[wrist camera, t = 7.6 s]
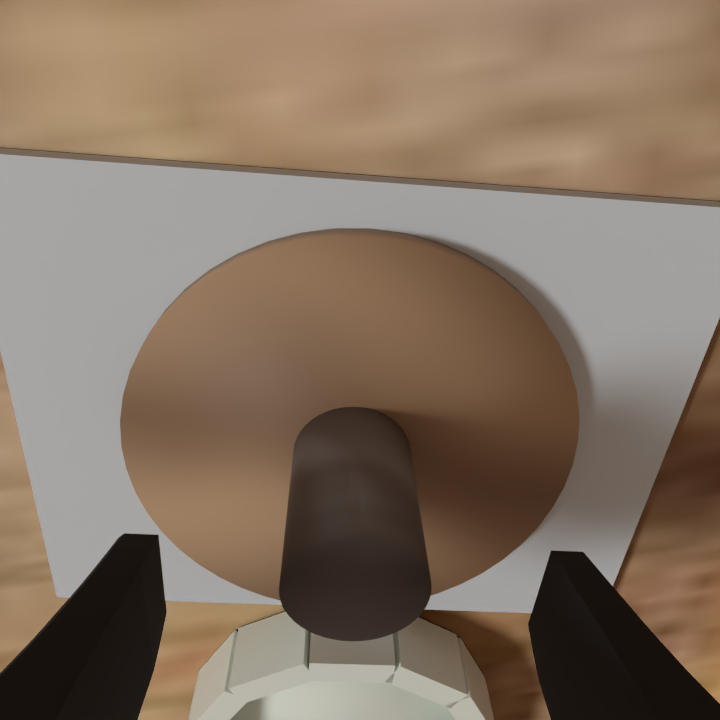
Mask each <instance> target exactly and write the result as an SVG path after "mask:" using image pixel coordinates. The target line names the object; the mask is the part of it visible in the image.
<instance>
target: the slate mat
mask: <svg viewBox="0 0 720 720" xmlns="http://www.w3.org/2000/svg"><path fill="white" fill-rule="evenodd" d="M334 228H371V229H378V230H386V231H394V232H401V233H406V234H410V235H414V236H418V237H421V238H425V239H429V240H433V241H436V242H439V243H441V244H444V245H446V246H448V247H451V248H453V249H456V250H458V251H460V252H463V253H465V254H467V255H469V256H471V257H472V258H474V259H476V260H477V261H479V262H481V263H483V264H484V265H486V266H488V267H489V268H491V269H493V270H494V271H495V272H497V273H498V274H499V275H500V276H502V277H503V278H504V279H506V280H507V281H508V282H509V283H511V284H512V285H513V286H514V287H516V288H517V289H518V290H519V291H520V293H521V294H522V295H523V296H524V297H525V298H526V299H527V300H528V301H529V302H530V303H531V304H532V305H533V306H534V308H535V309H536V310H537V311H538V313H539V314H540V316H541V317H542V319H543V320H544V322H545V323H546V325H547V326H548V328H549V329H550V331H551V332H552V334H553V335H554V337H555V338H556V340H557V341H558V343H559V345H560V347H561V349H562V351H563V353H564V356H565V358H566V360H567V362H568V364H569V366H570V369H571V373H572V376H573V380H574V384H575V387H576V391H577V398H578V407H579V417H580V418H579V434H578V444H577V449H576V453H575V458H574V462H573V466H572V469H571V471H570V474H569V476H568V479H567V481H566V484H565V487H564V489H563V490H562V492H561V494H560V496H559V497H558V499H557V501H556V503H555V505H554V506H553V508H552V509H551V511H550V512H549V513H548V515H547V516H546V517H545V519H544V520H543V521H542V523H541V524H540V525H539V527H538V528H537V529H536V530H535V531H534V532H533V533H532V534H531V535H530V536H529V537H528V538H527V539H526V540H525V541H524V542H523V543H522V544H521V545H520V546H519V547H518V548H517V549H515V550H514V551H513V552H512V553H510V554H509V555H508V556H507V557H506V558H504V559H503V560H502V561H500V562H499V563H497V564H496V565H494V566H493V567H491V568H489V569H488V570H486V571H485V572H483V573H482V574H480V575H478V576H476V577H474V578H472V579H470V580H468V581H466V582H464V583H462V584H460V585H458V586H455V587H453V588H450V589H448V590H445V591H443V592H440V593H438V594H434V595H431V596H430V599H429V602H428V604H427V606H426V608H425V609H424V610H454V611H484V612H514V613H532V610H533V607H534V604H535V601H536V598H537V594H538V591H539V588H540V585H541V582H542V578H543V575H544V572H545V569H546V566H547V562H548V559H549V556H550V553H551V550H552V551H577V552H584V553H585V554H586V556H587V557H588V558H589V559H590V560H591V561H592V563H593V564H594V565H595V566H596V567H597V568H598V570H599V571H600V572H601V573H602V574H603V576H604V577H605V578H606V579H607V580H608V581H609V583H610V584H611V585H612V586H613V585H614V582H615V580H616V577H617V575H618V572H619V569H620V567H621V564H622V562H623V559H624V557H625V554H626V552H627V549H628V547H629V544H630V542H631V539H632V537H633V534H634V532H635V529H636V527H637V524H638V522H639V519H640V517H641V514H642V512H643V509H644V507H645V504H646V502H647V499H648V497H649V494H650V492H651V489H652V487H653V484H654V482H655V479H656V476H657V474H658V471H659V469H660V466H661V464H662V461H663V459H664V456H665V454H666V451H667V449H668V446H669V444H670V441H671V439H672V436H673V434H674V431H675V429H676V426H677V424H678V421H679V419H680V416H681V414H682V411H683V409H684V406H685V404H686V401H687V399H688V396H689V394H690V391H691V389H692V386H693V384H694V381H695V378H696V376H697V373H698V371H699V368H700V366H701V363H702V361H703V358H704V356H705V353H706V351H707V348H708V346H709V343H710V341H711V338H712V336H713V333H714V331H715V328H716V326H717V323H718V321H719V318H720V202H719V201H706V200H692V199H679V198H666V197H652V196H639V195H625V194H612V193H599V192H585V191H572V190H558V189H545V188H531V187H518V186H505V185H491V184H478V183H464V182H451V181H438V180H424V179H411V178H397V177H384V176H371V175H357V174H344V173H330V172H317V171H304V170H290V169H277V168H263V167H250V166H237V165H223V164H210V163H196V162H183V161H169V160H156V159H143V158H129V157H116V156H102V155H89V154H76V153H62V152H49V151H35V150H22V149H9V148H0V351H1V355H2V360H3V364H4V369H5V373H6V377H7V382H8V386H9V390H10V395H11V399H12V403H13V408H14V412H15V416H16V421H17V425H18V430H19V434H20V438H21V443H22V447H23V451H24V456H25V460H26V464H27V469H28V473H29V477H30V482H31V486H32V491H33V495H34V499H35V504H36V508H37V512H38V517H39V521H40V525H41V530H42V534H43V539H44V543H45V547H46V552H47V556H48V560H49V565H50V569H51V573H52V578H53V582H54V586H55V591H56V595H57V597H66V598H70V597H71V596H72V594H73V593H74V592H75V591H76V590H77V589H78V587H79V586H80V585H81V584H82V583H83V581H84V580H85V579H86V578H87V577H88V575H89V574H90V573H91V572H92V570H93V569H94V568H95V567H96V565H97V564H98V563H99V562H100V560H101V559H102V558H103V557H104V555H105V554H106V553H107V552H108V550H109V549H110V548H111V546H112V545H113V544H114V543H115V541H116V540H117V539H118V538H119V537H120V536H121V535H123V534H124V533H128V534H152V535H158V536H159V545H160V555H161V565H162V574H163V584H164V594H165V601H185V602H215V603H245V604H275V605H282V604H281V600H277V599H273V598H269V597H265V596H262V595H260V594H257V593H254V592H251V591H249V590H246V589H243V588H241V587H239V586H237V585H234V584H232V583H230V582H228V581H226V580H224V579H222V578H220V577H218V576H217V575H215V574H213V573H212V572H210V571H208V570H207V569H205V568H204V567H202V566H200V565H199V564H197V563H196V562H195V561H194V560H192V559H191V558H190V557H188V556H187V555H186V554H185V553H183V552H182V551H181V550H180V549H178V548H177V547H176V546H175V545H174V544H173V543H172V542H171V541H170V540H169V539H168V538H167V537H166V536H165V535H164V534H163V533H162V531H161V530H160V529H159V528H158V526H157V525H156V524H155V522H154V521H153V520H152V518H151V517H150V516H149V515H148V513H147V512H146V510H145V508H144V506H143V505H142V503H141V501H140V499H139V498H138V496H137V494H136V492H135V490H134V487H133V485H132V482H131V480H130V477H129V475H128V472H127V469H126V465H125V460H124V456H123V451H122V447H121V432H120V416H121V407H122V398H123V393H124V390H125V386H126V383H127V379H128V376H129V372H130V369H131V367H132V365H133V363H134V361H135V359H136V357H137V355H138V353H139V351H140V349H141V346H142V345H143V343H144V341H145V339H146V338H147V336H148V334H149V333H150V331H151V330H152V328H153V327H154V325H155V324H156V322H157V321H158V320H159V318H160V317H161V315H162V314H163V312H164V311H165V310H166V308H167V307H168V306H169V305H170V304H171V303H172V302H173V301H174V300H175V299H176V298H177V297H178V296H179V295H180V294H181V293H182V292H183V291H184V290H185V289H186V288H187V287H188V286H189V285H191V284H192V283H193V282H194V281H196V280H197V279H198V278H200V277H201V276H202V275H203V274H205V273H206V272H207V271H209V270H210V269H212V268H213V267H215V266H217V265H219V264H220V263H222V262H224V261H225V260H227V259H229V258H231V257H232V256H234V255H236V254H238V253H240V252H243V251H245V250H248V249H250V248H253V247H255V246H257V245H260V244H262V243H265V242H267V241H271V240H274V239H278V238H282V237H286V236H290V235H294V234H298V233H302V232H310V231H318V230H326V229H334Z"/></svg>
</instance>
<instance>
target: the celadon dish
mask: <svg viewBox="0 0 720 720" xmlns="http://www.w3.org/2000/svg"><path fill="white" fill-rule="evenodd" d="M188 720H494V717H493V713H492V708H491V703H490V698H489V694H488V689H487V684H486V679H485V677H484V676H483V674H482V672H481V671H480V669H479V668H478V666H477V664H476V663H475V661H474V659H473V658H472V656H471V655H470V653H469V651H468V650H467V648H466V646H465V645H464V643H463V642H462V640H461V638H460V637H459V638H457V635H456V634H454V633H452V632H450V631H448V630H445V629H443V628H441V627H439V626H437V625H434V624H432V623H430V622H428V621H426V620H423V619H421V618H419V617H418V618H417V619H416V620H415V621H413V622H412V623H411V624H410V625H408V626H407V627H405V628H403V629H402V630H400V631H398V632H396V633H393V634H391V635H388V636H385V637H381V638H378V639H373V640H366V641H340V640H334V639H329V638H325V637H322V636H319V635H316V634H314V633H311V632H309V631H307V630H306V629H304V628H302V627H301V626H299V625H298V624H297V623H296V622H294V621H293V620H292V619H291V618H290V617H289V616H288V614H287V613H286V611H285V612H283V613H280V614H277V615H274V616H271V617H268V618H265V619H263V620H260V621H257V622H254V623H251V624H248V625H245V626H242V627H240V628H239V629H238V631H236V630H235V631H234V632H233V633H232V634H231V635H230V636H229V637H228V639H227V640H226V641H225V642H224V643H223V644H222V645H221V647H220V648H219V649H218V650H217V651H216V652H215V653H214V654H213V656H212V657H211V658H210V659H209V660H208V661H207V662H206V664H205V665H204V666H203V667H202V668H201V669H200V670H199V674H198V676H197V681H196V685H195V690H194V695H193V699H192V704H191V709H190V713H189V718H188Z"/></svg>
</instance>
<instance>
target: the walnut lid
mask: <svg viewBox="0 0 720 720" xmlns="http://www.w3.org/2000/svg"><path fill="white" fill-rule="evenodd" d="M579 418H580V417H579V407H578V398H577V391H576V387H575V384H574V380H573V376H572V373H571V369H570V366H569V364H568V362H567V360H566V358H565V356H564V353H563V351H562V349H561V347H560V345H559V343H558V341H557V340H556V338H555V337H554V335H553V334H552V332H551V331H550V329H549V328H548V326H547V325H546V323H545V322H544V320H543V319H542V317H541V316H540V314H539V313H538V311H537V310H536V309H535V308H534V306H533V305H532V304H531V303H530V302H529V301H528V300H527V299H526V298H525V297H524V296H523V295H522V294H521V293H520V291H519V290H518V289H517V288H516V287H514V286H513V285H512V284H511V283H509V282H508V281H507V280H506V279H504V278H503V277H502V276H500V275H499V274H498V273H497V272H495V271H494V270H493V269H491V268H489V267H488V266H486V265H484V264H483V263H481V262H479V261H477V260H476V259H474V258H472V257H471V256H469V255H467V254H465V253H463V252H460V251H458V250H456V249H453V248H451V247H448V246H446V245H444V244H441V243H439V242H436V241H433V240H429V239H425V238H421V237H418V236H414V235H410V234H406V233H401V232H394V231H386V230H378V229H371V228H334V229H326V230H318V231H310V232H302V233H298V234H294V235H290V236H286V237H282V238H278V239H274V240H271V241H267V242H265V243H262V244H260V245H257V246H255V247H253V248H250V249H248V250H245V251H243V252H240V253H238V254H236V255H234V256H232V257H231V258H229V259H227V260H225V261H224V262H222V263H220V264H219V265H217V266H215V267H213V268H212V269H210V270H209V271H207V272H206V273H205V274H203V275H202V276H201V277H200V278H198V279H197V280H196V281H194V282H193V283H192V284H191V285H189V286H188V287H187V288H186V289H185V290H184V291H183V292H182V293H181V294H180V295H179V296H178V297H177V298H176V299H175V300H174V301H173V302H172V303H171V304H170V305H169V306H168V307H167V308H166V310H165V311H164V312H163V314H162V315H161V317H160V318H159V320H158V321H157V322H156V324H155V325H154V327H153V328H152V330H151V331H150V333H149V334H148V336H147V338H146V339H145V341H144V343H143V345H142V346H141V349H140V351H139V353H138V355H137V357H136V359H135V361H134V363H133V365H132V367H131V369H130V372H129V376H128V379H127V383H126V386H125V390H124V393H123V398H122V407H121V416H120V432H121V447H122V451H123V456H124V460H125V465H126V469H127V472H128V475H129V477H130V480H131V482H132V485H133V487H134V490H135V492H136V494H137V496H138V498H139V499H140V501H141V503H142V505H143V506H144V508H145V510H146V512H147V513H148V515H149V516H150V517H151V518H152V520H153V521H154V522H155V524H156V525H157V526H158V528H159V529H160V530H161V531H162V533H163V534H164V535H165V536H166V537H167V538H168V539H169V540H170V541H171V542H172V543H173V544H174V545H175V546H176V547H177V548H178V549H180V550H181V551H182V552H183V553H185V554H186V555H187V556H188V557H190V558H191V559H192V560H194V561H195V562H196V563H197V564H199V565H200V566H202V567H204V568H205V569H207V570H208V571H210V572H212V573H213V574H215V575H217V576H218V577H220V578H222V579H224V580H226V581H228V582H230V583H232V584H234V585H237V586H239V587H241V588H243V589H246V590H249V591H251V592H254V593H257V594H260V595H262V596H265V597H269V598H273V599H277V600H281V604H282V606H283V608H284V610H285V611H286V613H287V614H288V616H289V617H290V618H291V619H292V620H293V621H294V622H296V623H297V624H298V625H299V626H301V627H302V628H304V629H306V630H307V631H309V632H311V633H314V634H316V635H319V636H322V637H325V638H329V639H334V640H340V641H366V640H373V639H378V638H381V637H385V636H388V635H391V634H393V633H396V632H398V631H400V630H402V629H403V628H405V627H407V626H408V625H410V624H411V623H412V622H413V621H415V620H416V619H417V618H418V617H419V616H420V615H421V614H422V612H423V611H424V609H425V608H426V606H427V604H428V602H429V599H430V596H431V595H434V594H438V593H440V592H443V591H445V590H448V589H450V588H453V587H455V586H458V585H460V584H462V583H464V582H466V581H468V580H470V579H472V578H474V577H476V576H478V575H480V574H482V573H483V572H485V571H486V570H488V569H489V568H491V567H493V566H494V565H496V564H497V563H499V562H500V561H502V560H503V559H504V558H506V557H507V556H508V555H509V554H510V553H512V552H513V551H514V550H515V549H517V548H518V547H519V546H520V545H521V544H522V543H523V542H524V541H525V540H526V539H527V538H528V537H529V536H530V535H531V534H532V533H533V532H534V531H535V530H536V529H537V528H538V527H539V525H540V524H541V523H542V521H543V520H544V519H545V517H546V516H547V515H548V513H549V512H550V511H551V509H552V508H553V506H554V505H555V503H556V501H557V499H558V497H559V496H560V494H561V492H562V490H563V489H564V487H565V484H566V481H567V479H568V476H569V474H570V471H571V469H572V466H573V462H574V458H575V453H576V449H577V444H578V434H579Z"/></svg>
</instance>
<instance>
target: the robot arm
mask: <svg viewBox="0 0 720 720" xmlns="http://www.w3.org/2000/svg"><path fill="white" fill-rule="evenodd" d="M165 617H166V603H165V594H164V584H163V574H162V565H161V555H160V545H159V536H158V535H152V534H128V533H124V534H123V535H121V536H120V537H119V538H118V539H117V540H116V541H115V543H114V544H113V545H112V546H111V548H110V549H109V550H108V552H107V553H106V554H105V555H104V557H103V558H102V559H101V560H100V562H99V563H98V564H97V565H96V567H95V568H94V569H93V570H92V572H91V573H90V574H89V575H88V577H87V578H86V579H85V580H84V581H83V583H82V584H81V585H80V586H79V587H78V589H77V590H76V591H75V592H74V593H73V594H72V596H71V597H70V598H69V599H68V600H67V601H66V603H65V604H64V605H63V606H62V607H61V608H60V609H59V611H58V612H57V613H56V614H55V615H54V616H53V617H52V618H51V620H50V621H49V622H48V623H47V624H46V625H45V626H44V628H43V629H42V630H41V631H40V632H39V633H38V634H37V635H36V636H35V638H34V639H33V640H32V641H31V642H30V643H29V644H28V645H27V646H26V647H25V648H24V649H23V650H22V651H21V652H20V653H19V654H18V655H17V656H16V658H15V659H14V660H13V661H12V662H11V663H10V664H9V665H8V666H7V667H6V668H5V669H4V670H3V671H2V672H1V673H0V720H137V719H138V716H139V713H140V710H141V707H142V704H143V701H144V698H145V695H146V692H147V689H148V686H149V683H150V680H151V677H152V674H153V671H154V667H155V662H156V658H157V654H158V649H159V645H160V640H161V636H162V631H163V626H164V622H165ZM528 626H529V631H530V637H531V642H532V648H533V653H534V658H535V663H536V668H537V673H538V678H539V682H540V685H541V688H542V692H543V695H544V698H545V701H546V705H547V708H548V711H549V714H550V717H551V720H720V704H719V703H718V702H717V701H716V700H715V699H714V698H713V697H712V696H711V695H710V694H709V693H708V692H707V691H706V690H705V689H704V688H703V687H702V686H701V685H700V684H699V683H698V682H697V680H696V679H695V678H694V677H693V676H692V675H691V674H690V673H689V672H688V671H687V670H686V669H685V668H684V667H683V666H682V665H681V664H680V663H679V661H678V660H677V659H676V658H675V657H674V656H673V655H672V654H671V653H670V652H669V650H668V649H667V648H666V647H665V646H664V645H663V644H662V643H661V642H660V640H659V639H658V638H657V637H656V636H655V635H654V634H653V633H652V632H651V630H650V629H649V628H648V627H647V626H646V625H645V624H644V622H643V621H642V620H641V619H640V618H639V617H638V616H637V614H636V613H635V612H634V611H633V610H632V608H631V607H630V606H629V605H628V604H627V603H626V601H625V600H624V599H623V598H622V597H621V596H620V594H619V593H618V592H617V591H616V590H615V589H614V587H613V586H612V585H611V584H610V583H609V581H608V580H607V579H606V578H605V577H604V576H603V574H602V573H601V572H600V571H599V570H598V568H597V567H596V566H595V565H594V564H593V563H592V561H591V560H590V559H589V558H588V557H587V556H586V554H585V553H584V552H577V551H552V550H551V553H550V556H549V559H548V562H547V566H546V569H545V572H544V575H543V578H542V582H541V585H540V588H539V591H538V594H537V598H536V601H535V604H534V607H533V610H532V614H531V617H530V620H529V623H528Z"/></svg>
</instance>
